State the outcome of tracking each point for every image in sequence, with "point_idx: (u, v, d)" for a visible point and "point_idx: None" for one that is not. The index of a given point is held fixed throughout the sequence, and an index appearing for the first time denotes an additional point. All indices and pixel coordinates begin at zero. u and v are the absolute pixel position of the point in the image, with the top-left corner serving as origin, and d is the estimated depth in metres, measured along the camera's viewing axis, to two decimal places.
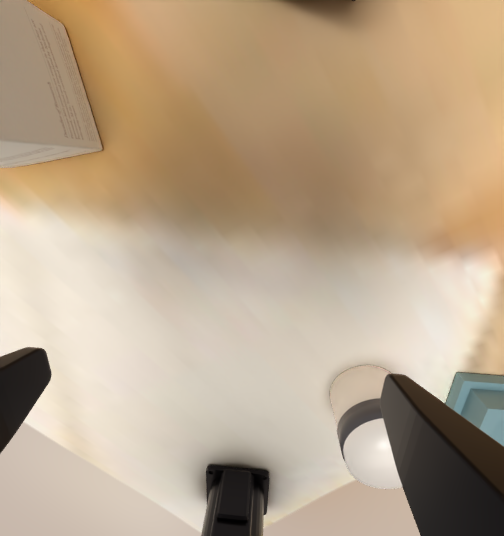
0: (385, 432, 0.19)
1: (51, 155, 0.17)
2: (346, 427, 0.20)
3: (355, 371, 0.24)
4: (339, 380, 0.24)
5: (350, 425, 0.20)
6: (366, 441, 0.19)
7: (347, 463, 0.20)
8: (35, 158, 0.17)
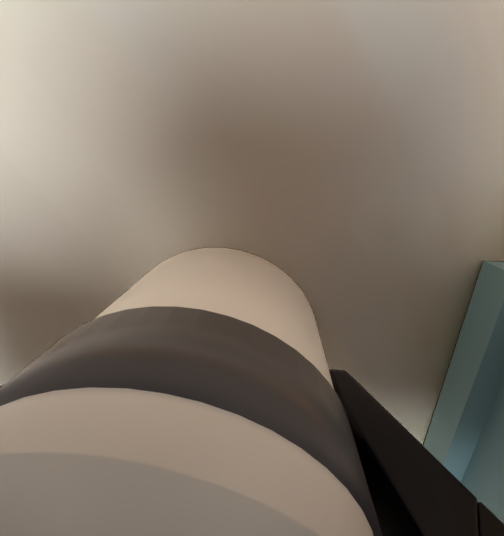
0: (7, 493, 0.02)
1: None
2: None
3: (166, 262, 0.08)
4: None
5: None
6: None
7: None
8: None
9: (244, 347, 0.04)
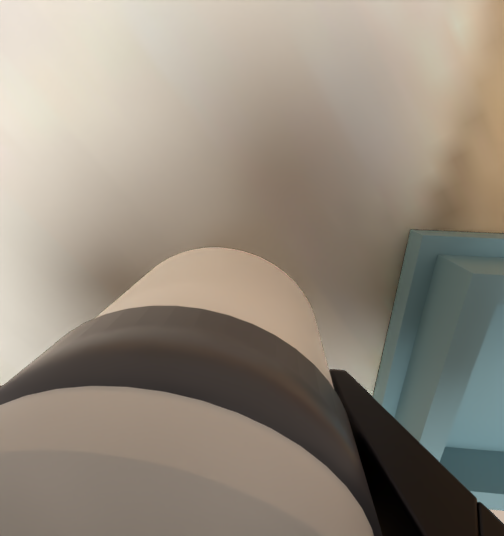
0: (8, 490, 0.02)
1: None
2: None
3: (167, 261, 0.08)
4: None
5: None
6: None
7: None
8: None
9: (244, 345, 0.04)
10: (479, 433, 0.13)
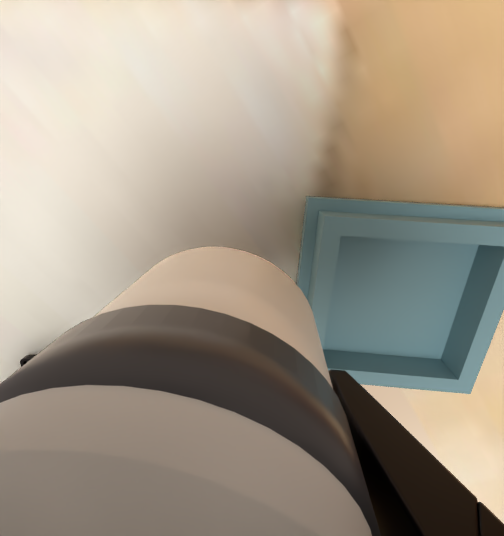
0: (2, 490, 0.02)
1: None
2: None
3: (165, 261, 0.08)
4: None
5: None
6: None
7: None
8: None
9: (242, 345, 0.04)
10: (361, 340, 0.19)
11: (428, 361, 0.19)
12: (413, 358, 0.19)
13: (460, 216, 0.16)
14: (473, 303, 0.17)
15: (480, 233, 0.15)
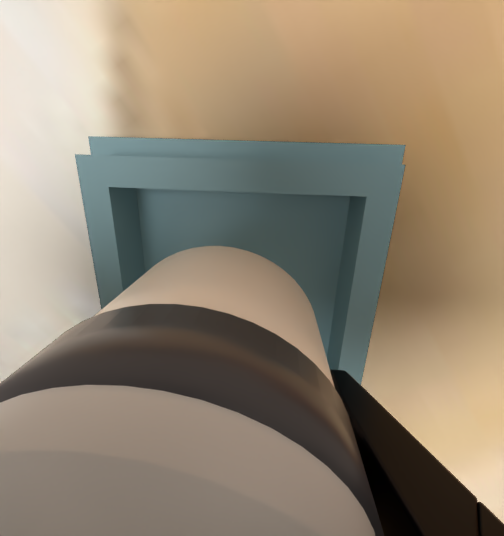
0: (2, 492, 0.02)
1: None
2: None
3: (166, 260, 0.07)
4: None
5: None
6: None
7: None
8: None
9: (244, 345, 0.04)
10: None
11: None
12: None
13: (313, 158, 0.11)
14: (343, 291, 0.11)
15: (319, 175, 0.09)
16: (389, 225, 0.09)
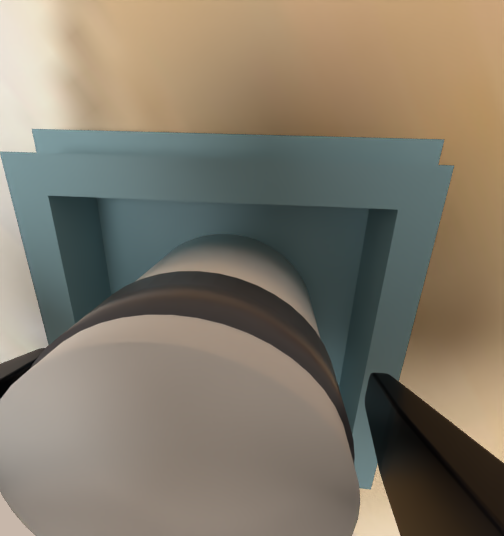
0: (99, 374, 0.04)
1: None
2: None
3: (182, 246, 0.09)
4: None
5: None
6: (39, 421, 0.04)
7: (19, 512, 0.05)
8: None
9: (250, 298, 0.05)
10: None
11: None
12: None
13: (323, 157, 0.08)
14: (360, 327, 0.09)
15: (333, 180, 0.07)
16: (427, 248, 0.07)
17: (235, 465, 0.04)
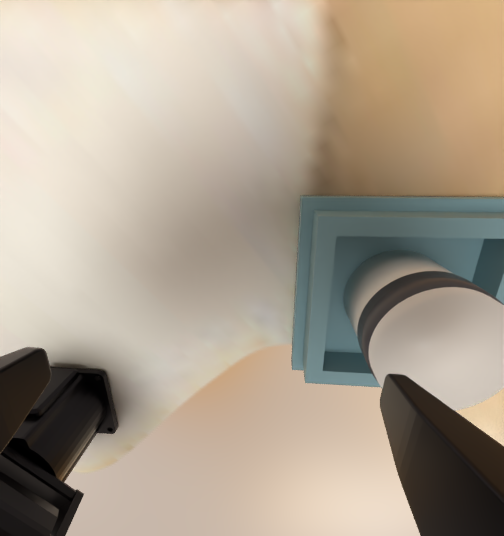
0: (440, 307, 0.11)
1: None
2: (372, 316, 0.13)
3: (380, 257, 0.16)
4: (357, 273, 0.17)
5: (379, 312, 0.13)
6: (407, 326, 0.12)
7: (376, 369, 0.13)
8: None
9: (464, 281, 0.13)
10: None
11: None
12: None
13: (463, 208, 0.15)
14: None
15: (484, 226, 0.14)
16: None
17: (479, 341, 0.12)
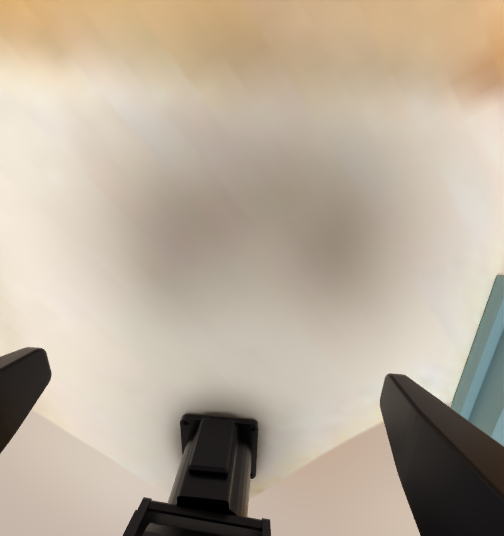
0: None
1: None
2: None
3: None
4: None
5: None
6: None
7: None
8: None
9: None
10: None
11: None
12: None
13: None
14: None
15: None
16: None
17: None
